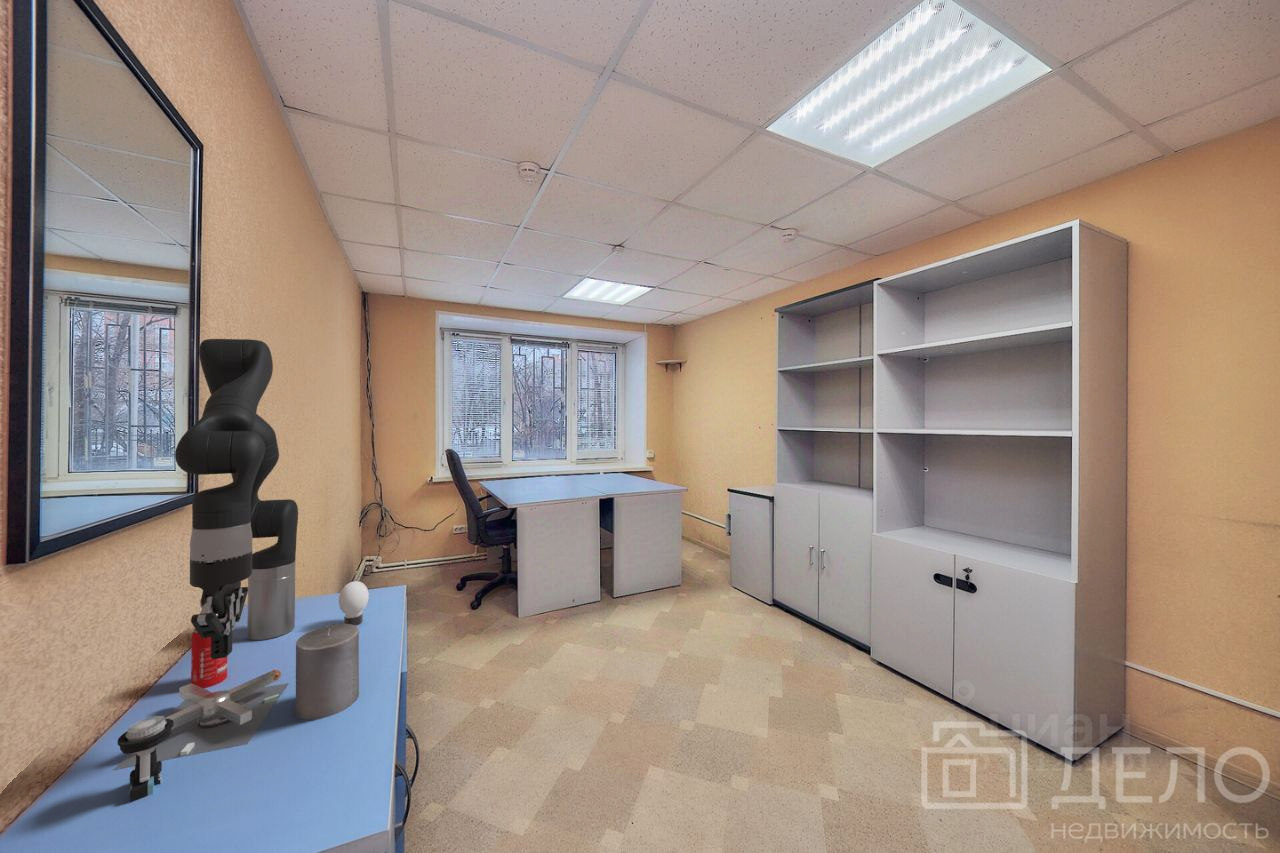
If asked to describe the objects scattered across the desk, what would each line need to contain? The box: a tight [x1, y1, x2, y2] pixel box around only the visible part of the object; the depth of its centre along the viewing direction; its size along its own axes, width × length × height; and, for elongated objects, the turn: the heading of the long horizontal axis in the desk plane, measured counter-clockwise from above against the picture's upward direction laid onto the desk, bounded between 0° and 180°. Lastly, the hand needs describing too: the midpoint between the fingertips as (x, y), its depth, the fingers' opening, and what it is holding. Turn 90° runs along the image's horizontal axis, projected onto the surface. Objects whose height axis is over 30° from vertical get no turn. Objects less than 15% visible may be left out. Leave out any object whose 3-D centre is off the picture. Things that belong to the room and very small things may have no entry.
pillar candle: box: [295, 623, 360, 721], centre depth 83 cm, size 10×10×15 cm
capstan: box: [164, 669, 282, 730], centre depth 78 cm, size 20×19×4 cm
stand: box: [113, 682, 290, 771], centre depth 77 cm, size 18×16×2 cm
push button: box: [117, 715, 174, 803], centre depth 64 cm, size 7×5×10 cm
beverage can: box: [190, 628, 228, 689], centre depth 89 cm, size 5×5×12 cm
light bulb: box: [338, 580, 370, 626], centre depth 118 cm, size 7×7×11 cm
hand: (221, 656), depth 74 cm, fingers closed
